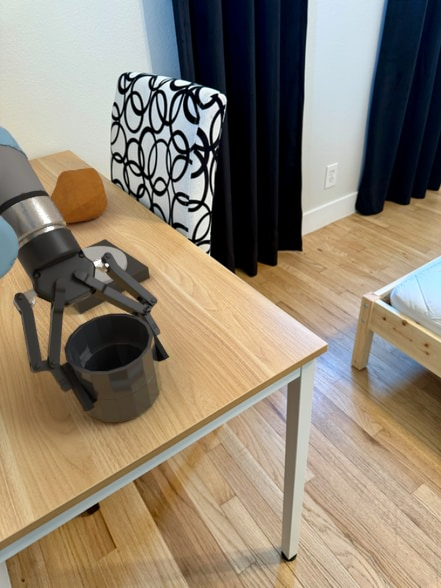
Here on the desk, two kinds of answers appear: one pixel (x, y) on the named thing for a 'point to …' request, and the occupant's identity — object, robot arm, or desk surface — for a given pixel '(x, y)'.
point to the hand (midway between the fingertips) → (128, 383)
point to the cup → (115, 365)
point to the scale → (122, 259)
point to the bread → (79, 195)
